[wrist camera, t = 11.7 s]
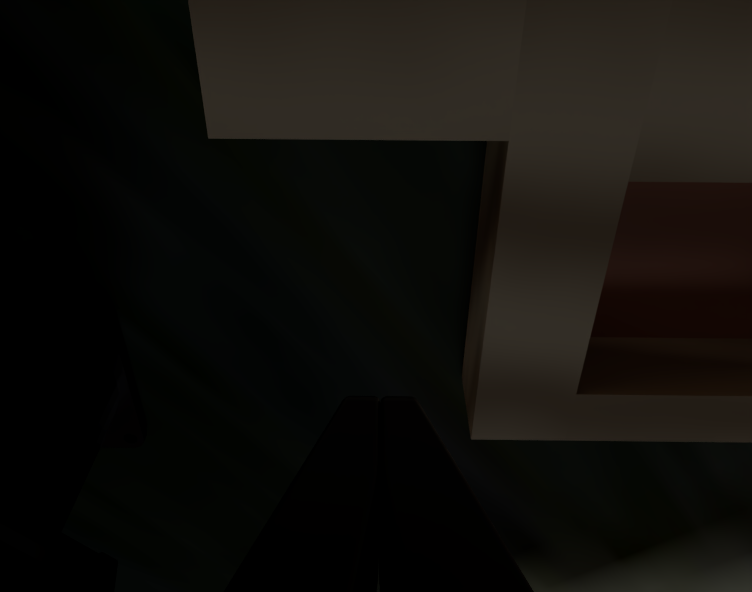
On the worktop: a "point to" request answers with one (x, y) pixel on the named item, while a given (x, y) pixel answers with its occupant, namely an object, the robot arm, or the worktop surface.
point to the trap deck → (546, 185)
